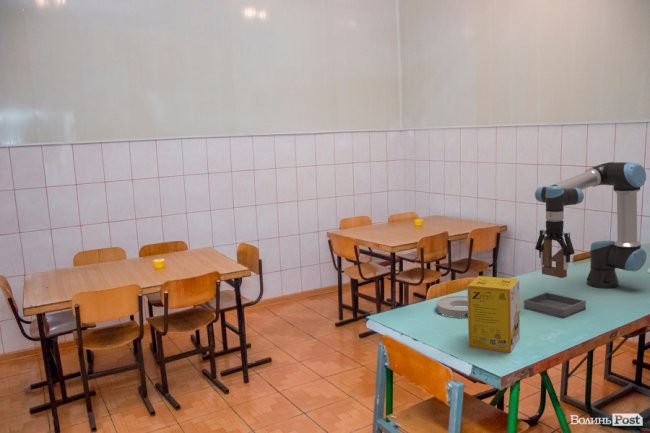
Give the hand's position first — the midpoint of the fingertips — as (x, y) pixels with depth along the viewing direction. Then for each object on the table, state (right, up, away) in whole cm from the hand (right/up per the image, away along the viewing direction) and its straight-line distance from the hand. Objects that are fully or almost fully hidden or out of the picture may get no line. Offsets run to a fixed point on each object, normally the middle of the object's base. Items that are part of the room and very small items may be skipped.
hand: (554, 267), depth 254 cm
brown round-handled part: (0, -4, +1) cm, 4 cm away
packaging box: (-38, -28, -33) cm, 57 cm away
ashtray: (-41, -22, +9) cm, 47 cm away
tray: (+1, -20, +3) cm, 20 cm away
